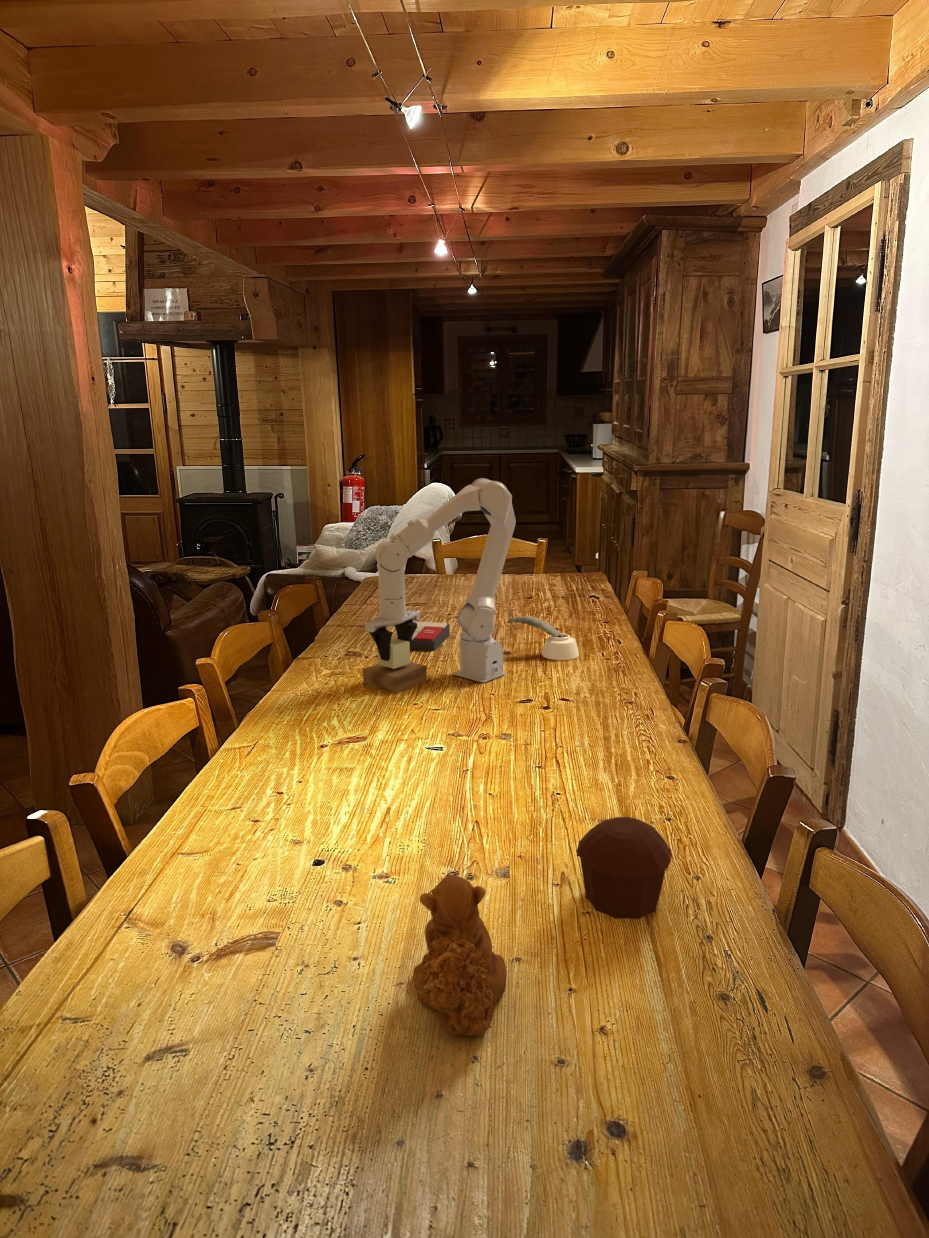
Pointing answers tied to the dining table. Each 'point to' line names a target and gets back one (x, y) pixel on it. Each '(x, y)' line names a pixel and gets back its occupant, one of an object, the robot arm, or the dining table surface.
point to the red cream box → (429, 636)
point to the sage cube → (397, 654)
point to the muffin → (623, 867)
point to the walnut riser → (395, 677)
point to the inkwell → (552, 640)
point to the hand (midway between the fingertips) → (394, 657)
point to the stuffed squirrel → (459, 960)
